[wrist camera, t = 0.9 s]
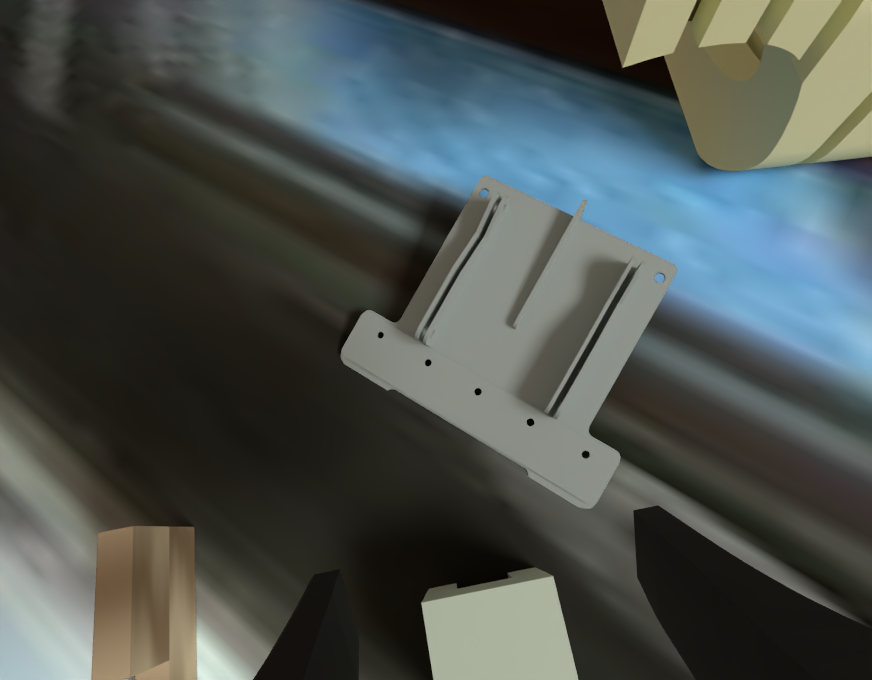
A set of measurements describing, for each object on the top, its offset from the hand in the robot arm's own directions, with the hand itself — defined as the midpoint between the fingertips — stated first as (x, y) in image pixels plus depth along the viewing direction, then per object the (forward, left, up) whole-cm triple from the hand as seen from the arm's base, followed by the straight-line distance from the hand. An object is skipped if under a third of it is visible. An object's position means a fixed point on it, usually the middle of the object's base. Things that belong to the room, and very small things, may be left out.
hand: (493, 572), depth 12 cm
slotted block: (-3, 0, -13) cm, 13 cm away
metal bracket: (+10, -4, -13) cm, 17 cm away
